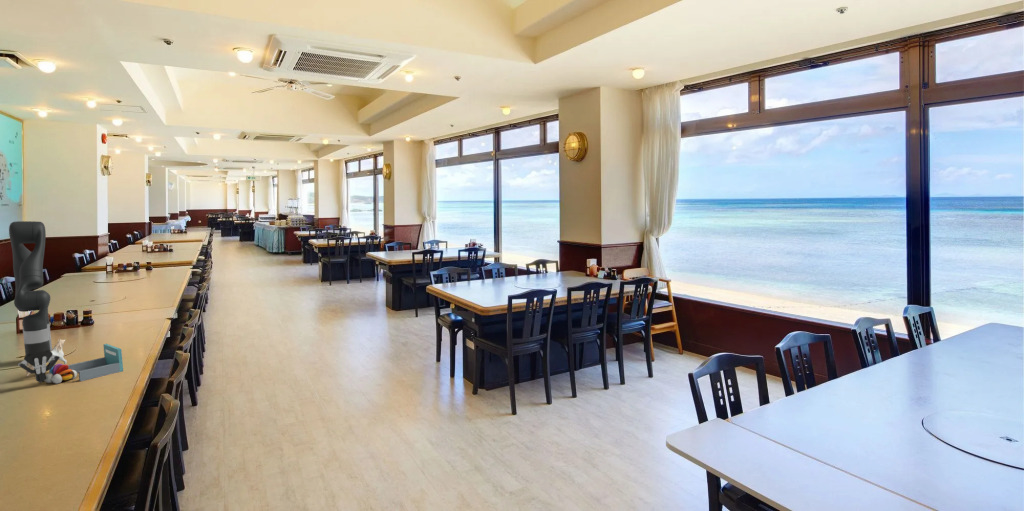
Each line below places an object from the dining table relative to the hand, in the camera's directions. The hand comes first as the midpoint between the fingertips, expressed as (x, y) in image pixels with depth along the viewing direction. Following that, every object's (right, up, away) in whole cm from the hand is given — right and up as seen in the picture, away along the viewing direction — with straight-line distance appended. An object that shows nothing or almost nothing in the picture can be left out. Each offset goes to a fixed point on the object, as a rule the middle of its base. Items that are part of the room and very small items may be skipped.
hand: (41, 381), depth 210 cm
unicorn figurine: (-11, 0, +15) cm, 19 cm away
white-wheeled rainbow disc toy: (+3, -1, +6) cm, 7 cm away
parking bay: (+10, 0, +15) cm, 18 cm away
